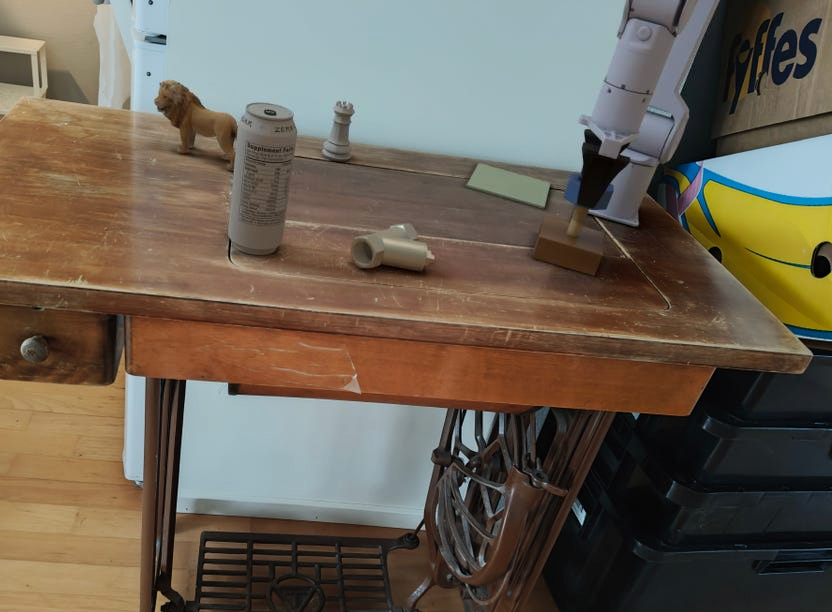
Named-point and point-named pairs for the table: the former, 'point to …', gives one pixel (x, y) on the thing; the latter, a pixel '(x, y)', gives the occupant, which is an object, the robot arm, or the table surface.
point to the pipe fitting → (392, 249)
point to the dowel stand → (570, 243)
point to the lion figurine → (196, 119)
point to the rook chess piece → (339, 133)
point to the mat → (509, 185)
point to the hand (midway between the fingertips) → (586, 197)
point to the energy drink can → (262, 177)
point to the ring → (573, 190)
